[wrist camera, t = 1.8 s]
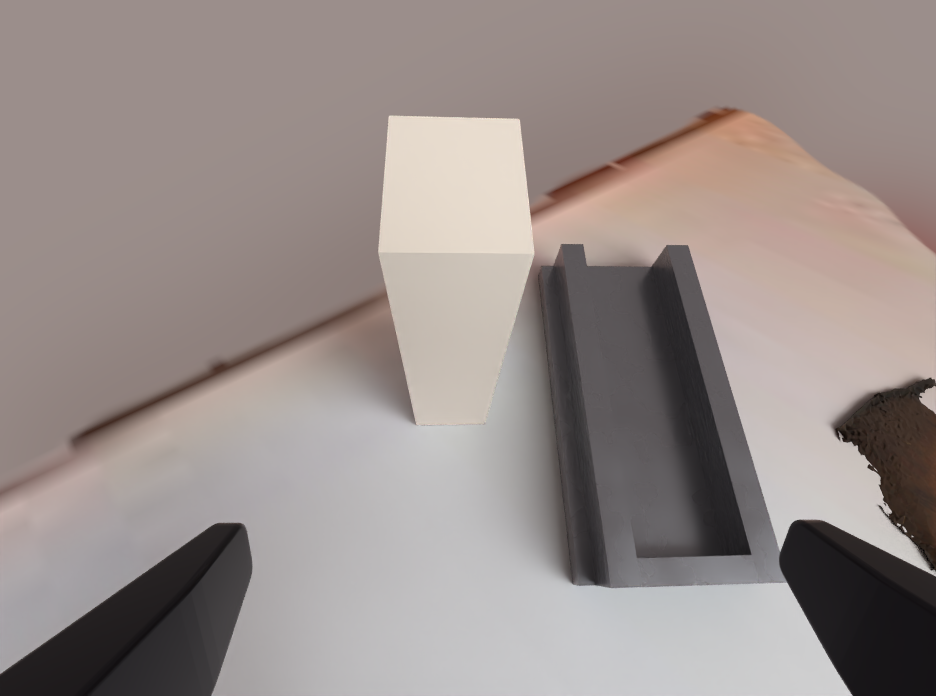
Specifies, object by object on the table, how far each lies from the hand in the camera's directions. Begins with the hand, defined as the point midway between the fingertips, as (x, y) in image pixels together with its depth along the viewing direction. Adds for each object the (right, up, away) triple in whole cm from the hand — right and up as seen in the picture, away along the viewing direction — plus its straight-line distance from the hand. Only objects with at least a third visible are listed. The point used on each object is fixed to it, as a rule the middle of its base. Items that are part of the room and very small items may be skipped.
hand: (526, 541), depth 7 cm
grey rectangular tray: (+8, 0, +16) cm, 18 cm away
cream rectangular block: (-2, +1, +16) cm, 16 cm away
